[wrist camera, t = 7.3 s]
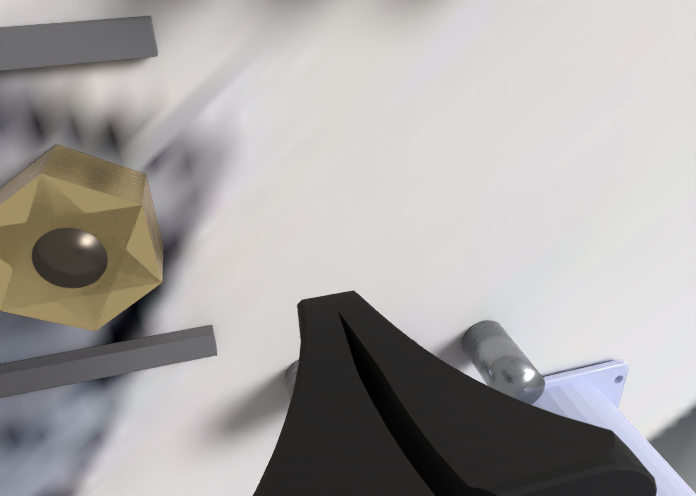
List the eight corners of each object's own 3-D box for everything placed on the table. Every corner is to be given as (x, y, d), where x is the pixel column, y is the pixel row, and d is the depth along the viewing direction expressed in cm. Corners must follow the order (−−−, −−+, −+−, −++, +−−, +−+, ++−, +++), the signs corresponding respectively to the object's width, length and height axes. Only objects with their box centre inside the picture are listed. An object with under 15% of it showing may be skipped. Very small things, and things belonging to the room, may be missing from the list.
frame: (216, 345, 22) (217, 355, 22) (-39, 394, 20) (-45, 406, 20) (150, 15, 16) (149, 18, 16) (-220, 44, 14) (-234, 48, 14)
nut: (193, 222, 20) (195, 257, 18) (74, 311, 20) (62, 355, 18) (91, 118, 17) (79, 144, 15) (-43, 221, 18) (-72, 260, 16)
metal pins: (501, 351, 26) (541, 404, 24) (288, 397, 24) (303, 462, 22) (560, -144, 17) (641, -158, 14) (220, -135, 15) (232, -149, 12)
